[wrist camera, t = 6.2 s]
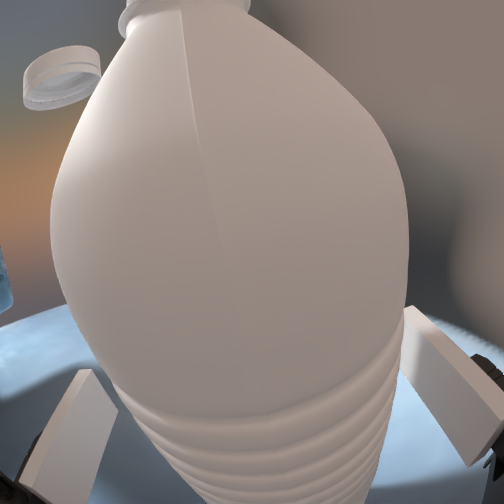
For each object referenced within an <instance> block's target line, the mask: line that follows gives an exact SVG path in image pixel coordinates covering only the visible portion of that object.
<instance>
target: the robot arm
mask: <svg viewBox="0 0 504 504" xmlns="http://www.w3.org/2000/svg"><path fill="white" fill-rule="evenodd" d="M12 304H13V294H12V289H11V285H10V281H9V278H8V274H7V270H6V266H5V262H4V258H3V255H2V251H1V247H0V314H1V313H2V312H4V311H5V310H7V309H9V308H10V307H11V306H12ZM399 369H400V370H401V372H402V373H403V374H404V376H405V377H406V378H407V380H408V381H409V382H410V384H411V385H412V387H413V388H414V389H415V391H416V392H417V393H418V395H419V396H420V398H421V399H422V401H423V402H424V403H425V405H426V406H427V408H428V409H429V410H430V412H431V413H432V415H433V416H434V418H435V419H436V421H437V422H438V423H439V425H440V426H441V428H442V429H443V431H444V432H445V434H446V435H447V437H448V438H449V440H450V441H451V443H452V444H453V446H454V447H455V449H456V450H457V452H458V454H459V455H460V457H461V458H462V460H463V461H464V463H465V464H466V466H467V468H469V467H470V466H472V465H473V464H474V463H476V462H477V461H479V460H480V459H481V458H483V457H484V456H485V455H486V453H487V452H488V451H489V450H490V448H492V450H493V451H494V452H493V453H492V455H491V456H490V457H489V458H488V460H487V461H486V462H485V464H484V467H483V468H486V467H487V466H488V465H489V463H490V462H491V464H490V467H489V468H490V470H489V475H488V480H487V485H486V490H485V494H484V498H483V502H482V504H504V375H503V373H502V372H501V371H500V370H499V369H497V368H496V366H495V365H494V364H493V363H492V362H491V361H490V360H489V359H487V358H485V357H483V356H481V355H478V354H475V355H473V356H472V357H469V356H468V355H467V354H466V353H465V352H464V351H463V350H461V349H460V348H459V347H458V346H457V345H456V344H455V343H454V342H453V341H452V340H451V339H450V338H449V337H448V336H447V335H446V334H444V333H443V332H442V331H441V330H440V329H439V328H438V327H437V326H436V325H435V324H433V323H432V322H431V321H430V320H429V319H428V318H427V317H426V316H424V315H423V314H422V313H421V312H420V311H419V310H418V309H417V308H415V307H414V306H410V307H407V308H404V334H403V341H402V345H401V360H400V367H399ZM118 412H119V411H118V409H117V408H116V406H115V405H114V403H113V402H112V400H111V399H110V397H109V396H108V394H107V393H106V391H105V390H104V388H103V387H102V385H101V383H100V382H99V380H98V379H97V377H96V375H95V374H94V372H93V370H92V369H79V371H78V372H77V374H76V376H75V377H74V379H73V380H72V382H71V384H70V385H69V387H68V389H67V390H66V392H65V394H64V395H63V397H62V399H61V400H60V402H59V404H58V406H57V407H56V409H55V411H54V413H53V414H52V416H51V418H50V420H49V422H48V423H47V425H46V427H45V429H44V430H43V431H42V432H41V433H40V434H39V435H38V436H37V437H36V438H35V440H34V442H33V444H32V446H31V448H30V449H29V451H28V453H27V454H28V455H26V457H25V459H24V461H23V463H22V466H21V468H20V470H19V472H18V474H17V476H16V478H15V480H14V482H12V481H11V480H10V479H9V478H8V477H7V476H6V475H4V474H3V473H2V472H1V471H0V504H88V501H89V497H90V494H91V491H92V487H93V484H94V481H95V478H96V475H97V471H98V468H99V465H100V462H101V459H102V456H103V453H104V450H105V447H106V445H107V442H108V439H109V436H110V433H111V431H112V428H113V425H114V422H115V420H116V417H117V414H118Z"/></svg>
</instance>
